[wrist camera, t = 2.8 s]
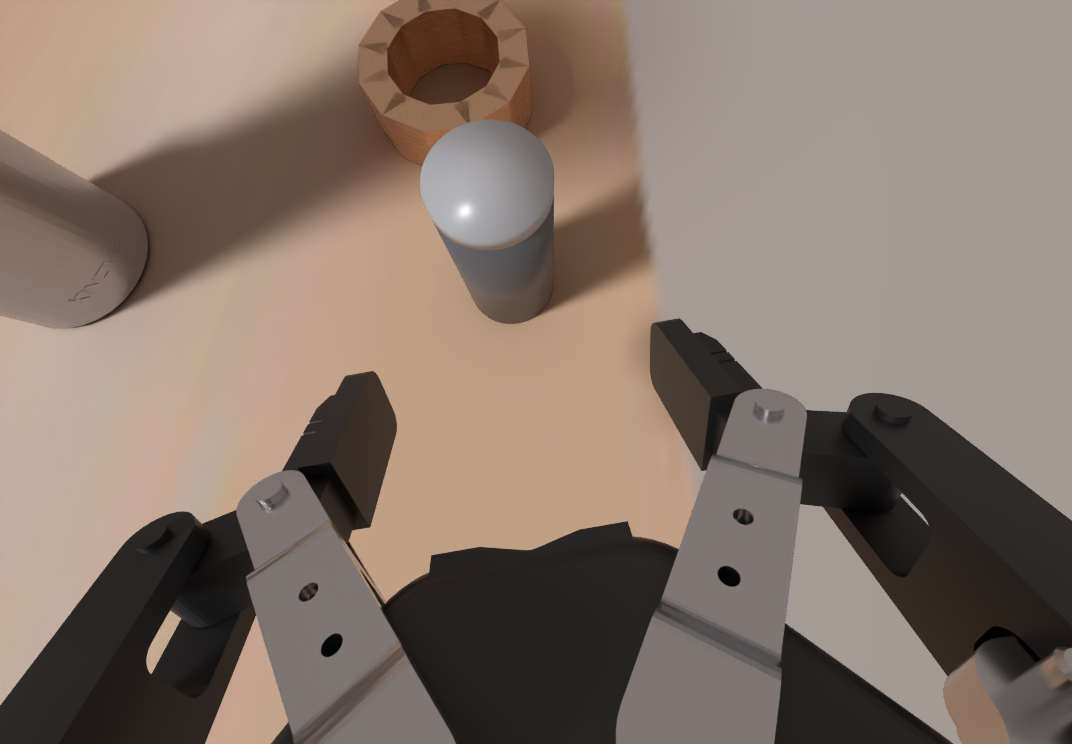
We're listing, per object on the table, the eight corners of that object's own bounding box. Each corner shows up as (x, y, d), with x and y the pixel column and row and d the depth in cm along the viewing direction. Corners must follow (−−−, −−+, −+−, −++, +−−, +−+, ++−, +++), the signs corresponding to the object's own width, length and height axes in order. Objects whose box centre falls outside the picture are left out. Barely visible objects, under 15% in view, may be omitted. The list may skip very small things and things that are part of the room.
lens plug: (457, 303, 25) (396, 209, 15) (493, 234, 26) (457, 101, 16) (531, 337, 24) (517, 260, 14) (566, 265, 25) (576, 147, 15)
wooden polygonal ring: (355, 138, 27) (327, 93, 24) (425, 24, 29) (409, -34, 25) (489, 193, 26) (480, 154, 23) (555, 71, 28) (555, 18, 24)
